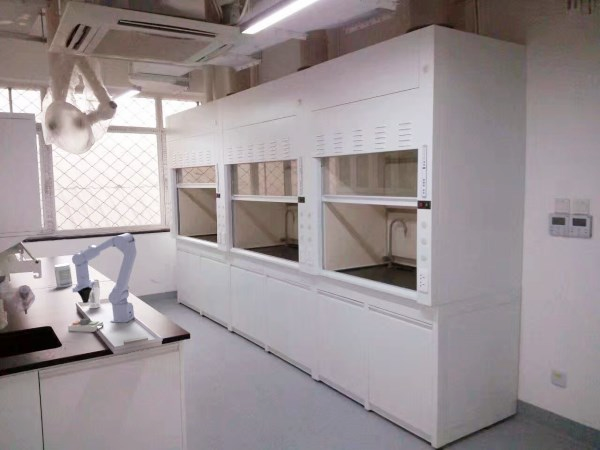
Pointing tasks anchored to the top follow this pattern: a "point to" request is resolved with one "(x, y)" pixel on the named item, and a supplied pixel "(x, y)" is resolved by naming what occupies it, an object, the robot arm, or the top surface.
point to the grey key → (85, 321)
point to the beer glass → (94, 295)
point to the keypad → (84, 327)
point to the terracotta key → (76, 323)
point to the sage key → (93, 323)
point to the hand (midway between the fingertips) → (85, 302)
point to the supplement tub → (63, 275)
